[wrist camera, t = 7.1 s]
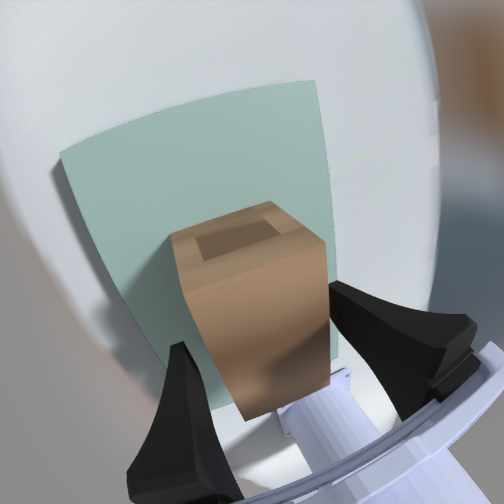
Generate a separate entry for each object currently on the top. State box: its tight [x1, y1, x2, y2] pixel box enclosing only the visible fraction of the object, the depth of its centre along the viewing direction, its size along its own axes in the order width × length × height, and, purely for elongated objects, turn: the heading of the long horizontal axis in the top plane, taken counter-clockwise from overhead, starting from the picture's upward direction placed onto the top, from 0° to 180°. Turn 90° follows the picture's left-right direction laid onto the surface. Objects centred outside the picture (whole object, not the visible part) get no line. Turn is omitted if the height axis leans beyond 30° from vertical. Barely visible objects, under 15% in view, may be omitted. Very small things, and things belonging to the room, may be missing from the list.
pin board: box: [59, 80, 338, 411], centre depth 15 cm, size 20×12×4 cm, turn 13°
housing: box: [170, 201, 330, 422], centre depth 14 cm, size 9×5×5 cm, turn 13°
